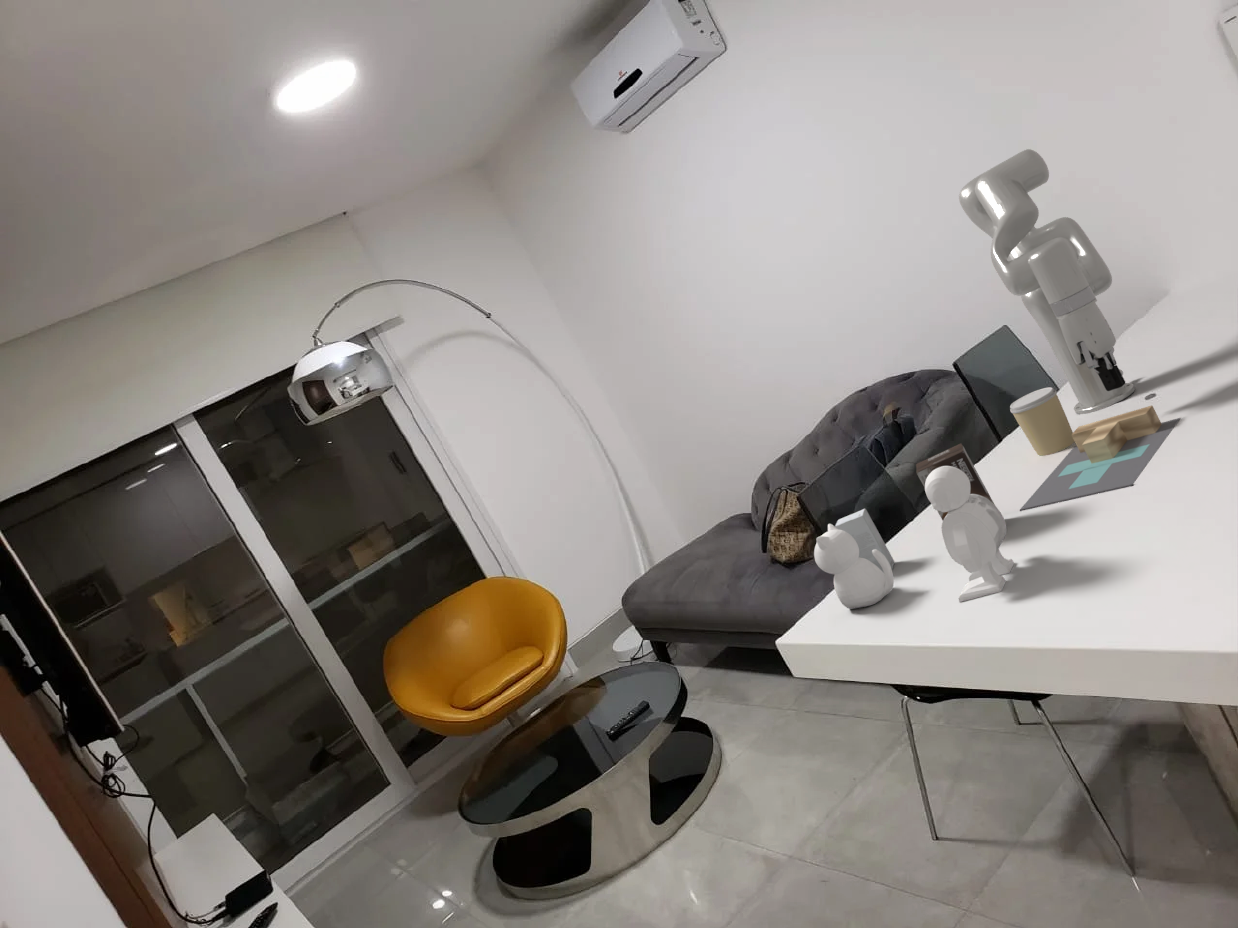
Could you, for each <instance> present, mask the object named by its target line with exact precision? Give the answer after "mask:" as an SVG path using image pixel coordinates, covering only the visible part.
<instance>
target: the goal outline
mask: <svg viewBox="0 0 1238 928" xmlns="http://www.w3.org/2000/svg"><path fill="white" fill-rule="evenodd" d="M1149 445H1150V444H1148V445H1144V446H1140V447H1137V448H1133V449H1129V450H1125V451H1121V452H1118V453H1117V454H1116V455H1115V457H1114V458H1112V459H1108V460H1104V461H1100V462H1096V463H1091V461H1090V460H1086V461H1082V462H1078V463H1074V464H1070V465H1067V466H1066V468H1065V469H1064V470H1063V471H1062V472H1061V473H1060V475H1059V476H1058V477H1060V476H1064V475H1068V474H1072V473H1076V472H1080V471H1083V472H1082V473H1081V474H1080V475H1079V477H1078V478H1077V479H1076V480H1075V482H1074V483H1073V484H1072V485H1071V486H1070V488H1069V489H1071V488H1076V487H1080V486H1084V485H1088V484H1093V483H1097V482H1098V481H1099V480H1100V478H1101V477H1102V476H1103V474H1104V473H1105V472H1106V471H1107V469H1108V468H1109V467H1110V465H1111V464H1112V463H1116V462H1120V461H1124V460H1128V459H1132V458H1136V457H1140V456H1141V455H1142V454H1143V453H1144V451H1145V450H1146V449H1147V447H1148V446H1149Z"/></svg>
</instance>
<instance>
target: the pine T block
mask: <svg viewBox="0 0 1238 928" xmlns="http://www.w3.org/2000/svg"><path fill="white" fill-rule="evenodd" d="M1161 423H1162V422H1161V419H1160V417H1159V415H1158V414H1157V411H1156V409H1155V408H1154V406H1153V405H1149V406H1145V407H1142V408H1139V409H1136V410H1135V409H1134V410H1132V411H1129V412H1124V413H1121V414H1118V415H1114V416H1110V417H1107V418H1103V419H1100V420H1097V421H1092V422H1090V423H1087V424H1083V425H1080V426H1078V427H1076V429H1075V430H1074V431H1072V432H1073V433H1072V437H1073V439H1074V441H1075V442H1074V443H1075V446H1077V447H1078V449H1079V451H1080V453H1082V452H1086V454H1087V456H1088V458H1089V459H1090V461H1091V463H1096V462H1100V461H1104V460H1108V459H1112V458H1114V457H1115V455H1116V454H1117V453H1118V452H1119V450H1120V449H1121V448H1122V447H1123V445H1124V444H1125V443H1126V442H1127V440H1131V439H1134V438H1138V437H1142V436H1146V435H1150V434H1153V433H1156V431H1157V430H1158V429H1159V427H1160V426H1161V425H1162V424H1161Z"/></svg>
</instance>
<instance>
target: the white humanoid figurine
mask: <svg viewBox="0 0 1238 928" xmlns="http://www.w3.org/2000/svg"><path fill="white" fill-rule="evenodd" d="M924 491H925V494H926V497H927V499H928V501H929V502H930V503H931V506H932V508H933V510H935V511H937V510H938V511H941V512H948V511H949V512H948V514H947V515H946V517H945V518H944V520H942V523H941V534H942V539H943V541H944V545H945V548H946V550H947V553H948V554H949V556H950V558H951V559H952V560H953V561H954V562H955V563H957V564H958V565H960V566H963V568H964V569H965V570H966V571H967V572H968V573H969V574H970V575H969V577H968V582H967V583H965V585H964V587H963V588H962V590H961V593H960V595H959V596H958V603H962V602H965V601H969V600H973V599H976V598H980V597H985V596H989V595H992V594H996V593H999V592H1002V591H1003V588H1004V586H1005V584H1006V582H1007V581H1006V579H1005V577H1004V576H1003V575H1006V574H1010V573H1011V571H1012V569H1013V567H1014V565H1015V562H1014V560H1013V559H1012V558H1010V559H1007V558H1005V557H1004V556H1003V554H1002V553H1001V551H1000V547H1001V545H1002V543H1003V541H1004V539H1005V537H1006V535H1007V531H1008V530H1007V529H1008V528H1007V527H1008V526H1007V523H1006V521H1005V518H1004V516H1003V514H1002V513H1001V511H1000V509H998V507H997V506H996V505H994V504H995V503H994V504H993V503H992V502H991V501H990V500H988V499H987V498H985V497H983V496H981V495H977V494H970V481H969V479H968V477H967V475H966V474H965V473H964V472H963V471H961V470H960V469H958V468H955V467H952V466H941V467H939V468H936V469H935V470H933V471H932V472H931V473H930V474H929V475H928V477H927V479H926V482H925V487H924ZM938 511H937V512H938Z"/></svg>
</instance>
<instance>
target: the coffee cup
mask: <svg viewBox="0 0 1238 928" xmlns="http://www.w3.org/2000/svg"><path fill="white" fill-rule="evenodd" d="M1057 393H1058V392H1057V390H1056V389H1054V388H1053V387H1051V386H1050V387H1048V386H1047V387H1044V388H1041V389H1037V390H1034V391H1032V392H1030V393H1027V394H1025V395H1024V396H1021V397H1020V398H1018V399H1016V400H1015V401H1013V402H1012V403H1011V404H1010V406H1009V410H1010V413H1011V414H1012V415H1013V416H1014V419H1015V420H1016V422H1017V424H1018V425H1019V426H1020V429H1021V430H1022V432H1023V434H1024V435H1025V437H1026V438H1027V441H1029V443H1030V444H1031V446H1032V448H1033V450H1034V451H1035V454H1037V456H1038V455H1039V457H1046V456H1050V455H1053V454H1057V453H1059V452H1061V451H1063V450H1065V449H1067V448H1069V447H1071V446H1072V445H1073V444H1074V443H1075V441H1074V439H1073V437H1072V433H1073V432H1074V431H1073V430H1072V426H1071V425H1070V422H1069V420H1068V417H1067V415H1066V413H1065V410H1064V408H1063V406H1062V403H1061V401H1060V399H1059V397H1058V395H1057Z"/></svg>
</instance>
